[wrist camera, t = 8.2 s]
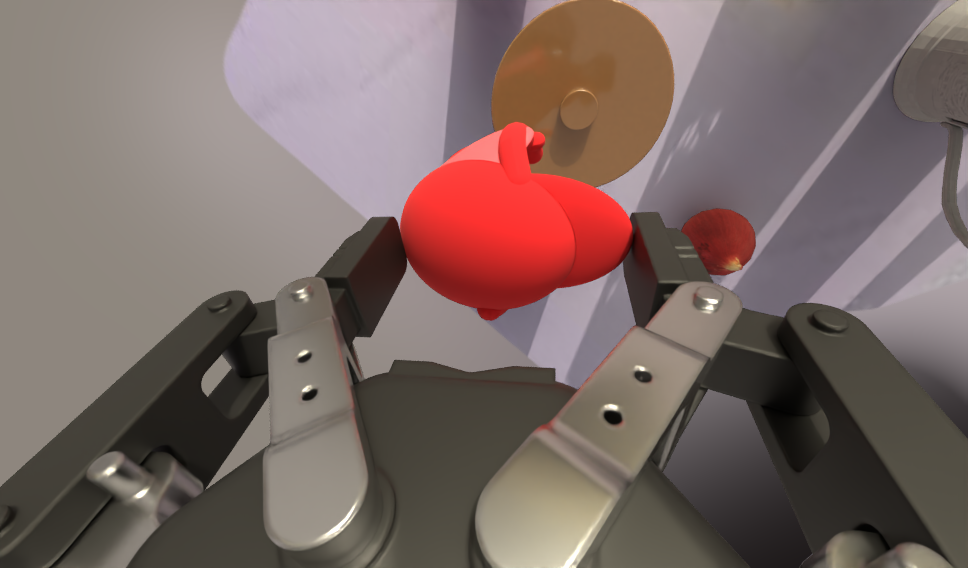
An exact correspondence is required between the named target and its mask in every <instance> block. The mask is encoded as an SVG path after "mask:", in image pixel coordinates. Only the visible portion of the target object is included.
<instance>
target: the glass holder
mask: <svg viewBox="0 0 968 568" xmlns="http://www.w3.org/2000/svg"><path fill="white" fill-rule="evenodd" d="M893 94H894V99H895V103H896V105H897V106H898V108H899V110H900V111H901V112H902V113H904V114H905V115H906V116H908V117H910V118H912V119H915V120H919V121H923V122H942V121H945V122H942V123H940V125H941V126H943V127H945V128H947V129H948V132H949V137H948V149H947V155H946V162H945V168H944V176H943V187H942V207H943V210H944V213H945V216H946V219H947V221H948V223H949V225H950V227H951V229H952V231H953V233H954V234H955V235H956V236H957V238H958V239H959V240H960V241H961V242H962V243H963V245H964V246H965V247H966V248H968V231H967V229H966V227H965V225H964V223H963V221H962V219H961V216H960V213H959V210H958V206H957V196H956V190H957V177H958V169H959V164H960V158H961V151H962V142H963V131H962V128H961V127H963V128H966V129H968V0H958V1H957V2H956V3H954V4H953V5H951V6H950V7H949V8H947V9H946V10H945V11H943V12H942V13H941V14H940V15H939V16H938V17H936V18H935V19H934V20H933V21H932V22H931V23H930V24H929V25H928V26H927V27H926V28H925V29H924V30H923V31H922V32H921V33H920V34H919V36H918V37H917V38H916V39H915V41H914V42H913V43H912V45H911V46H910V47H909V49H908V50H907V52H906V54H905V55H904V57H903V59H902V61H901V63H900V65H899V67H898V70H897V72H896V76H895V80H894V87H893Z"/></svg>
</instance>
